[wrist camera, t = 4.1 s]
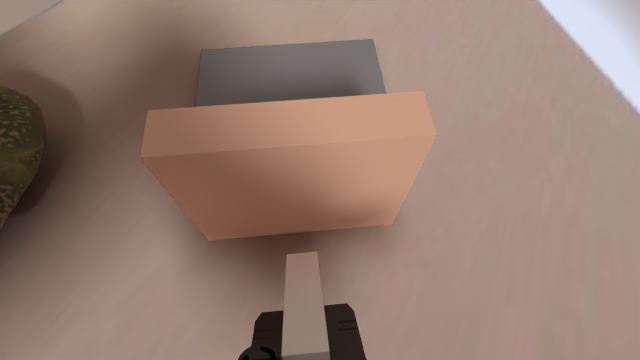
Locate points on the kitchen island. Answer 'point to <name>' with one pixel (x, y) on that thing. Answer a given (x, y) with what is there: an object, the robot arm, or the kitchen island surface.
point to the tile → (290, 162)
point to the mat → (288, 72)
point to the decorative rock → (18, 147)
